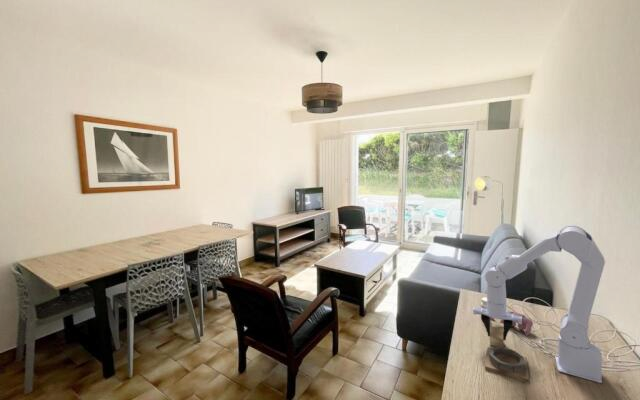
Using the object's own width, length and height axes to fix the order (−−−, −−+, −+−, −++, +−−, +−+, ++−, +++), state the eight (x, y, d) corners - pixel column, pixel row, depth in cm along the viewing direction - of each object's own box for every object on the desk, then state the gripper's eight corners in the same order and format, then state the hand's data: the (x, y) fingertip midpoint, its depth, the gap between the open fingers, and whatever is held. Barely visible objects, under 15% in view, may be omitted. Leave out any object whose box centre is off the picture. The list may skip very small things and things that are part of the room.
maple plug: (503, 342, 98) (503, 323, 97) (503, 348, 94) (503, 329, 94) (490, 338, 100) (490, 320, 99) (489, 344, 97) (489, 326, 96)
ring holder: (527, 360, 88) (527, 351, 88) (528, 382, 79) (528, 373, 79) (487, 349, 94) (487, 341, 94) (485, 369, 85) (484, 360, 85)
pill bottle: (481, 320, 112) (480, 300, 112) (480, 314, 117) (480, 296, 116) (494, 322, 110) (494, 302, 109) (493, 316, 114) (493, 297, 114)
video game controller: (532, 337, 102) (535, 318, 103) (528, 336, 99) (531, 317, 101) (502, 326, 110) (506, 308, 111) (498, 325, 107) (501, 307, 109)
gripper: (521, 300, 95) (521, 337, 96) (474, 292, 103) (474, 326, 105) (522, 309, 89) (522, 348, 90) (472, 300, 98) (472, 335, 99)
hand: (496, 336), depth 97 cm, fingers closed on maple plug, 4 cm apart
